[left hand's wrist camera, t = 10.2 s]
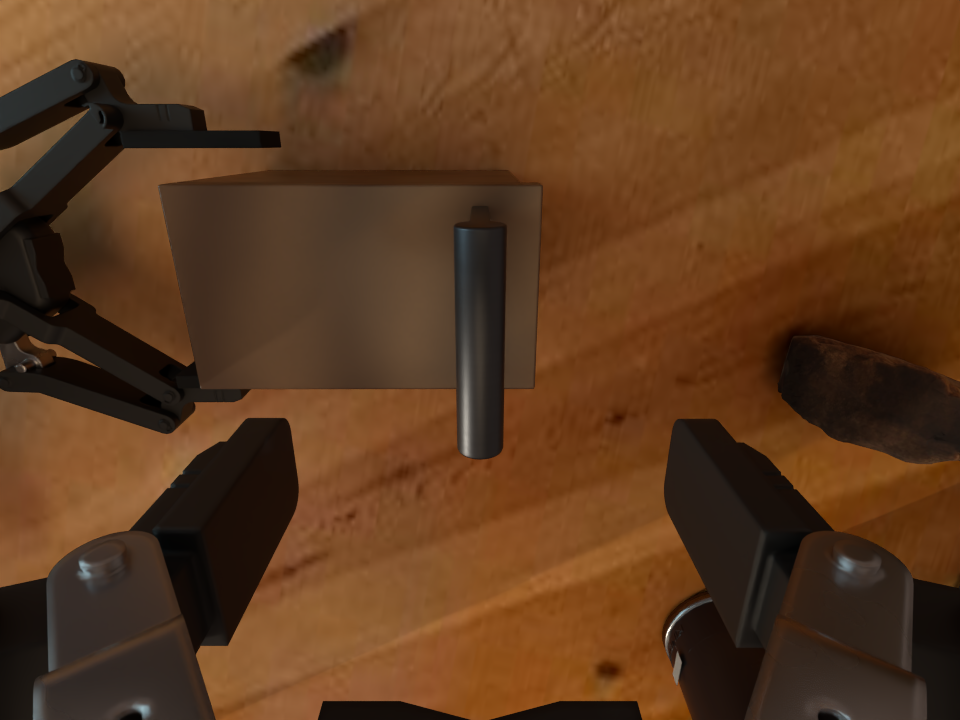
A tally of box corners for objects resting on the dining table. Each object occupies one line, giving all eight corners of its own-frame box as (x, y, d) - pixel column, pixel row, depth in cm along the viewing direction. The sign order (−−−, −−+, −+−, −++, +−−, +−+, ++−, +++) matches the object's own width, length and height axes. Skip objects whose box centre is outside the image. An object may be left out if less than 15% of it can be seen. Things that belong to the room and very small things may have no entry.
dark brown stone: (949, 354, 38) (1119, 430, 28) (904, 429, 40) (1046, 525, 30) (789, 315, 37) (906, 380, 27) (752, 394, 39) (846, 482, 29)
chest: (509, 170, 33) (522, 182, 23) (506, 312, 37) (517, 378, 26) (268, 170, 33) (174, 182, 23) (287, 312, 37) (213, 378, 26)
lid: (539, 182, 23) (571, 203, 15) (532, 378, 26) (554, 477, 19) (173, 182, 23) (16, 203, 15) (212, 378, 26) (100, 478, 19)
